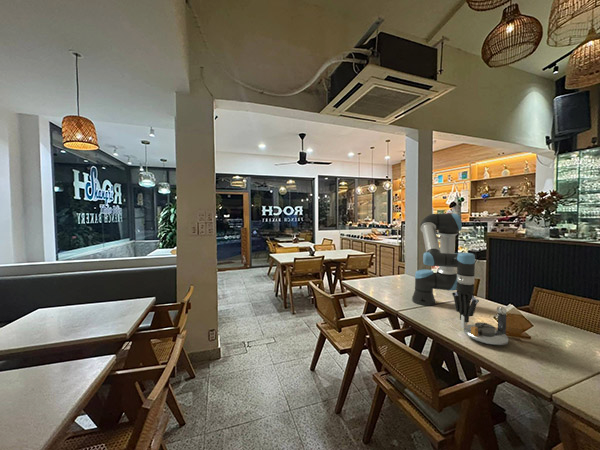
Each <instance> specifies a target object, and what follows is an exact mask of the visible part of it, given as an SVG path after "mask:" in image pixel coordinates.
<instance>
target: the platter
mask: <svg viewBox="0 0 600 450" xmlns="http://www.w3.org/2000/svg"><path fill="white" fill-rule="evenodd" d="M463 333H464V335H465V334H466V336H468V337H469V338H470V339H472V340H475V341H476V340H477V341H476V342H478V341H480V342H483V343H487V344H491V345H490V346H504V345H508V344H509V336H507V334H506V335H505V334H504V333H502V332H500V331H498V329H496V328H495V336H493V337H488V336H484V335H481V334H478V328H477V327H475V324H467V328H463ZM480 342H479V343H480ZM483 343H482V344H483ZM487 344H486V345H487Z"/></svg>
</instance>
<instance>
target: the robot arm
mask: <svg viewBox="0 0 600 450" xmlns="http://www.w3.org/2000/svg"><path fill="white" fill-rule="evenodd" d="M462 227H463V224H462V218H461V216H460V215H459V214H458V213H430V214H428V215H426V216H425V217H423V218H422V220H421V222H420V225H419V228H420V232H421V233H422V235H423V236H422V237H423V242H424V247H425V252H423V254H422V255H423V256H422V260H423V261H422V262H423V265H424V266H429V267H439V268H437V269H436V272H434V271H433V270H432V269H418V270H416V271H415V273H414V274H415V275H414V292H413V295H412V296H411V301H412V302H413V303H415V304H417V305H421V306H429V307H430V306H435V305H436V299H435V296H434V290H443V291H448V292H449V291H455V292H452V293H451V294H452V296H453V300H454V305H455V311H456V312H457V313H458V314H459V321H461V322H460V328H461V329H464V328H467V325H469V324H468V323H469V322H470V317H474V314H475V311H476V307H477V304H478V303H479V302H480V300H479V299H477V298H476V297H475V295H474V292H475V280H476V279H475V273H476V272H475V271H476V269H475V267H476V255H475V254H474V253H471V252H455V248H456V236H457V235H458V234H459V232H460V231H462V230H463V228H462ZM436 231H437V232H436ZM437 233H438V235H440V244H439V241H438V237H437V236H438V235H437ZM455 268H456V270H454V269H455Z"/></svg>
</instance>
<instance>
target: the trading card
mask: <svg viewBox="0 0 600 450" xmlns="http://www.w3.org/2000/svg"><path fill="white" fill-rule="evenodd" d="M450 320H453V318H450V319H449V318H448V319H447V321H450ZM455 320H456V321H458V322H460V323H461V320H460V319H457V318H455ZM440 322H442V323H444V324H445V325H448V326H450V327H451V328H453V329H455V330H456V331H458V332H460V333H462V334H463V335H466V334H465V333H464V331H461V330H460V329H457V328H456V327H453V326H452V325H450V324H448V323H447V322H445V321H444V319H441V320H440ZM466 336H467V335H466Z"/></svg>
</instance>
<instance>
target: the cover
mask: <svg viewBox="0 0 600 450" xmlns="http://www.w3.org/2000/svg"><path fill="white" fill-rule="evenodd" d="M474 325H475V327H477V328H478V334H481V335H484V336H488V337H493V336H495V329H496V327H495V326H494V325H492V324H489V323H487V322H480V321H479V322H478V321H477V322H476V323H475V324H474Z"/></svg>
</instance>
